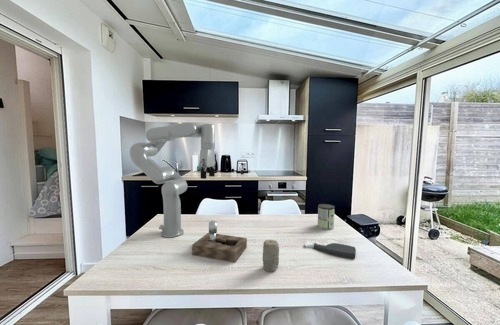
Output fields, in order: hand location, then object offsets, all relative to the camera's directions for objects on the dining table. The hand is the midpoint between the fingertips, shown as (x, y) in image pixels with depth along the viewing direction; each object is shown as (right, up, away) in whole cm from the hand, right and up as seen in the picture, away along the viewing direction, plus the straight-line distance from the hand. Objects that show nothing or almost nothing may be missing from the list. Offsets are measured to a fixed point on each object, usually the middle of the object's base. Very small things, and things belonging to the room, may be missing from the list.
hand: (207, 177), depth 128 cm
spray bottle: (+64, -37, -11) cm, 74 cm away
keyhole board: (+9, -36, -14) cm, 39 cm away
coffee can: (+73, -34, +22) cm, 83 cm away
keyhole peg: (+5, -35, -13) cm, 38 cm away
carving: (+32, -37, -30) cm, 58 cm away
